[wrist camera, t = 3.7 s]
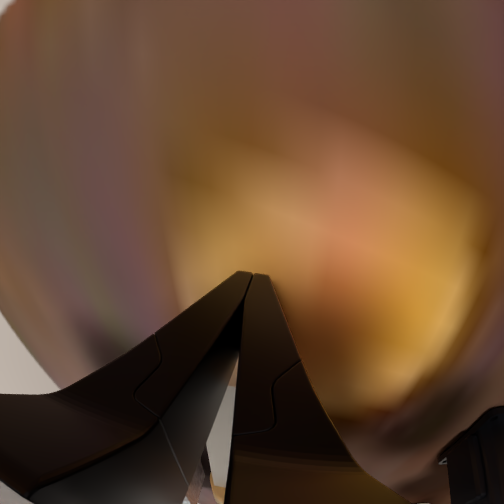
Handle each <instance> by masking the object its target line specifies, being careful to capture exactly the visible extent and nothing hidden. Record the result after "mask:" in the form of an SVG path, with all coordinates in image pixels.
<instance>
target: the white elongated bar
mask: <svg viewBox="0 0 504 504" xmlns="http://www.w3.org/2000/svg"><path fill="white" fill-rule="evenodd" d="M237 368H238V360H237V362H236V365H235V368H234V371H233V373H232V376H231V379H230V381H229V384H228V387H227V389H226V392H225V395H224V397H223V400H222V403H221V405H220V408H219V411H218V413H217V416H216V419H215V421H214V424H213V427H212V429H211V432H210V434H209V437H208V440H207V442H206V446H207V451H208V457H209V462H210V467H211V474H210V483H211V487H212V491H213V495H214V498H215V501H216V502H217V503H218V504H224V496H225V488H226V481H227V473H228V465H229V456H230V446H231V435H232V424H233V413H234V402H235V391H236V379H237Z"/></svg>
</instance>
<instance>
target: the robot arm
mask: <svg viewBox="0 0 504 504" xmlns="http://www.w3.org/2000/svg"><path fill="white" fill-rule="evenodd" d="M237 360H238V368H237V379H236V391H235V402H234V413H233V424H232V435H231V446H230V456H229V465H228V473H227V481H226V488H225V496H224V504H412V503H411V502H409V501H408V500H406V499H404V498H403V497H401V496H400V495H398V494H397V493H395V492H394V491H392V490H391V489H389V488H388V487H386V486H385V485H383V484H382V483H380V482H379V481H378V480H376V479H375V478H373V477H372V476H370V475H369V474H368V473H366V472H365V471H364V470H363V469H362V468H361V467H360V466H359V464H358V463H357V462H356V461H355V459H354V458H353V457H352V455H351V454H350V452H349V450H348V449H347V447H346V445H345V444H344V442H343V440H342V438H341V437H340V435H339V433H338V432H337V430H336V428H335V426H334V425H333V423H332V421H331V419H330V418H329V416H328V414H327V412H326V411H325V409H324V407H323V405H322V403H321V401H320V400H319V398H318V396H317V394H316V392H315V390H314V388H313V385H312V383H311V381H310V378H309V376H308V374H307V371H306V369H305V366H304V363H303V362H302V359H301V356H300V354H299V351H298V348H297V346H296V343H295V341H294V338H293V335H292V333H291V330H290V328H289V325H288V323H287V320H286V317H285V315H284V312H283V310H282V307H281V304H280V302H279V299H278V297H277V294H276V292H275V289H274V287H273V284H272V281H271V279H270V277H269V275H265V274H259V273H255V274H254V275H253V273H251V272H245V271H237V272H235V273H234V274H233V275H231V276H230V277H229V278H227V279H226V280H225V281H223V282H222V283H221V284H219V285H218V286H217V287H215V288H214V289H213V290H211V291H210V292H209V293H207V294H206V295H205V296H203V297H202V298H201V299H199V300H198V301H197V302H195V303H194V304H193V305H191V306H190V307H189V308H187V309H186V310H185V311H183V312H182V313H181V314H179V315H178V316H177V317H175V318H174V319H172V320H171V321H170V322H168V323H167V324H166V325H164V326H163V327H162V328H160V329H159V330H158V331H156V332H155V335H154V334H152V335H151V336H149V337H148V338H147V339H145V340H144V341H143V342H141V343H140V344H138V345H137V346H135V347H134V348H133V349H131V350H130V351H128V352H127V353H125V354H124V355H122V356H120V357H119V358H117V359H115V360H114V361H112V362H110V363H109V364H107V365H105V366H104V367H102V368H100V369H98V370H97V371H95V372H93V373H91V374H90V375H88V376H86V377H84V378H82V379H81V380H79V381H77V382H75V383H74V384H72V385H70V386H68V387H66V388H64V389H62V390H59V391H57V392H53V393H49V394H41V395H26V394H25V395H24V394H0V504H182V503H183V501H184V498H185V496H186V493H187V491H188V487H189V486H190V483H191V480H192V478H193V475H194V473H195V470H196V468H197V465H198V463H199V460H200V458H201V455H202V452H203V450H204V447H205V445H206V442H207V440H208V437H209V434H210V432H211V429H212V427H213V424H214V421H215V419H216V416H217V413H218V411H219V408H220V405H221V403H222V400H223V397H224V395H225V392H226V389H227V387H228V384H229V381H230V379H231V376H232V373H233V371H234V368H235V365H236V362H237ZM438 462H439V464H447V467H448V475H449V485H450V496H451V504H504V407H500V408H495V409H492V410H491V411H489V412H488V413H486V414H485V415H484V416H483V417H482V418H481V419H480V420H479V421H478V422H477V423H476V424H475V425H474V426H473V427H472V428H471V429H470V430H469V431H468V432H467V433H466V434H465V435H464V436H463V437H462V438H461V439H459V440H458V441H457V442H456V443H455V444H454V445H453V446H452V447H450V448H449V449H448V450H447V451H446V452H445V453H443V454H442V455H441V456H440V457H439V458H438Z"/></svg>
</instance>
